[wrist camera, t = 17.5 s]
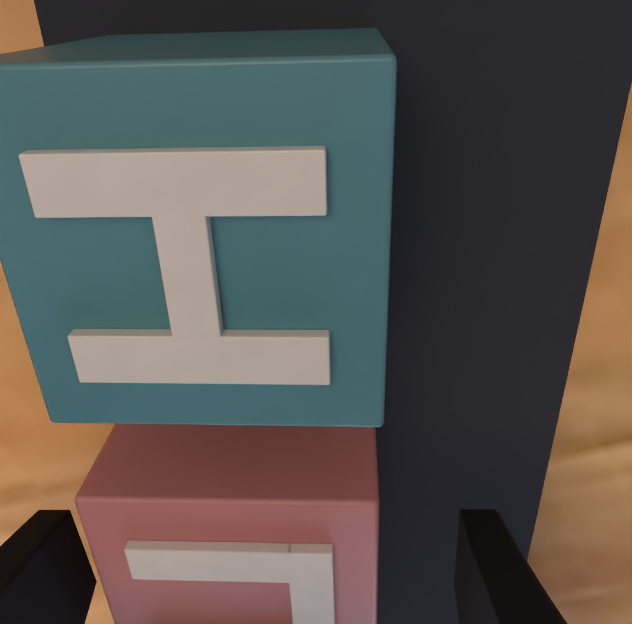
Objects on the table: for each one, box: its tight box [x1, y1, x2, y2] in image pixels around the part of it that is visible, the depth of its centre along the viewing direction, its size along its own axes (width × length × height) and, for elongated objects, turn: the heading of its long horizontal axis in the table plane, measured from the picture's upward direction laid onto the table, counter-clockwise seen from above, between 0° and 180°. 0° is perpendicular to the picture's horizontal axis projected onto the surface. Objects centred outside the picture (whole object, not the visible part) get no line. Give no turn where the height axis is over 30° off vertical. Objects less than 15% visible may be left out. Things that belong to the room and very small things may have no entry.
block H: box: [0, 28, 397, 427], centre depth 9 cm, size 5×5×5 cm
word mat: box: [34, 0, 632, 624], centre depth 14 cm, size 10×23×1 cm, turn 2°
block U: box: [75, 423, 379, 624], centre depth 12 cm, size 5×5×5 cm
